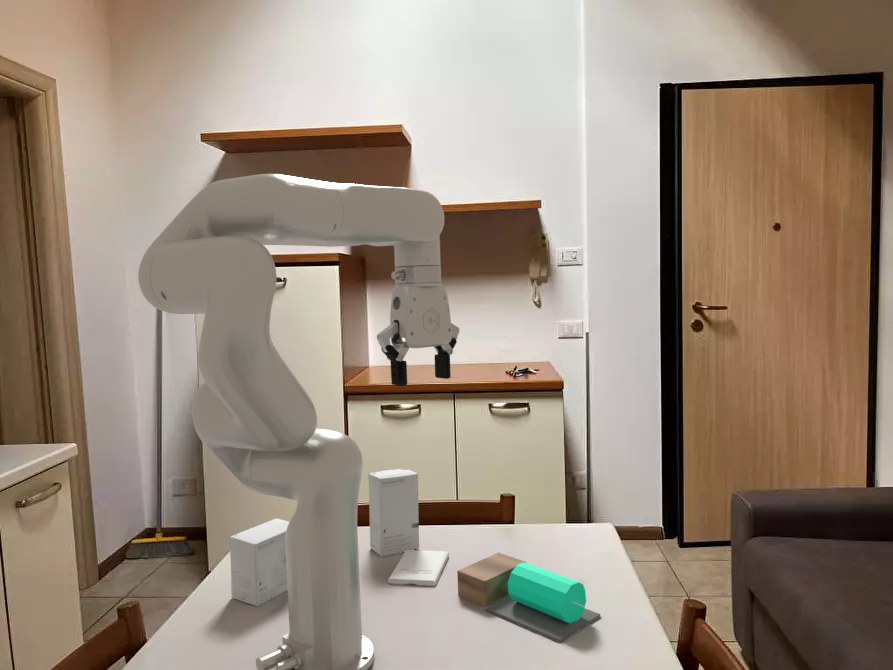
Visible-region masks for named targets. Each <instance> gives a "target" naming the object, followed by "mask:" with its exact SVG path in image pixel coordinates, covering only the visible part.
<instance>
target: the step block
mask: <svg viewBox="0 0 893 670" xmlns="http://www.w3.org/2000/svg"><path fill="white" fill-rule="evenodd" d="M523 562H524V563H526V561H524V560H521V559H518V558H516V557H513V556H509V555H507V554H503V553H501V552H496V553H494V554H492V555H490V556H488V557H486V558H483V559H481V560H478V561H477V562H476V561H475V562H474V563H472V564H470V565H467V566H465V567H463V568H461V569H458V570H457V571H456V572H457V574H456V575H457V595H458V596H460V597H462V598H465V599H467V600H469V601H472V602H473V603H476V604H479V605H482V606H484V607H488V606H490V605H492V603H493V604H494V603H496V602H498V601H500V600H502V599H504V598H506V596H509V593H508V581H509V578H510V575H511V572H512V571H513V570H514V568H515V567H516V566H517V565H518V564H521V563H523Z"/></svg>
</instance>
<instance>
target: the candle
mask: <svg viewBox="0 0 893 670" xmlns="http://www.w3.org/2000/svg"><path fill="white" fill-rule="evenodd" d="M508 593H509V594H508V596H510V597H511V599H512V600H515V601H517V602H519V603H522V604H524V605H526V606H529V607H531V608H534V609H536V610H538V611H541V612H543V613H546V614H548V615H550V616H553V617H555V618H558V619H560V620H562V621H565V622H568V623H573V622H575V621H578V620H579V619H580V617H581V615H582V613H583V612H584V608H585V607H586V603H587V595H586V589H585V586H584V584H583V583H582V582H579V581H577V580H573V579H571V578H567V577H565V576H562V575H559V574H557V573H554V572H551V571H548V570H546V569H543V568H540V567H538V566H534V565H532V564H529V563H524V562H523V563H521V564H518V565H517V566H516V567H515V568H514V570H513V571H512V572H511V575H510V578H509V581H508ZM585 609H586V608H585Z"/></svg>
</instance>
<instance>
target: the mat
mask: <svg viewBox="0 0 893 670" xmlns="http://www.w3.org/2000/svg"><path fill="white" fill-rule="evenodd" d="M485 611H486V612H488V613H491V614H493V615H495V616H497V617H499V618H502V619H505V620H506V621H509V622H511V623H514V624H516V625H519V626H521V627H523V628H526V629H528V630H530V631H533V632H535V633H537V634H538V635H541V636H543V637H546V638H548V639H552V640H554V641H556V642H557V643H562V642H563V641H565V640H567V639H568V638H569V637H571V636H573V635H574V634H576V633H577V632H579V631H580V630H582V629H584V628H585V627H587V626H588V625H590V624H591V623H593V622H594V621H596V620H598V619H599V618H601V613H598V612H595V611H592V610H590V609H588V608H584V612H583V613H582V615H581V617H580V619H579V620H578V621H575V622H573V623H568V622H565V621H562V620H560V619H558V618H555V617H553V616H550V615H548V614H546V613H543V612H541V611H538V610H536V609H534V608H531V607H529V606H526V605H524V604H522V603H519V602H517V601H515V600H512V599H511V597H510V595H507V597H506V596H505V597H503V598H501V599H499V600H498V601H496V602H494V603H493V604H490V605H488V606H486V607H485Z"/></svg>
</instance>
